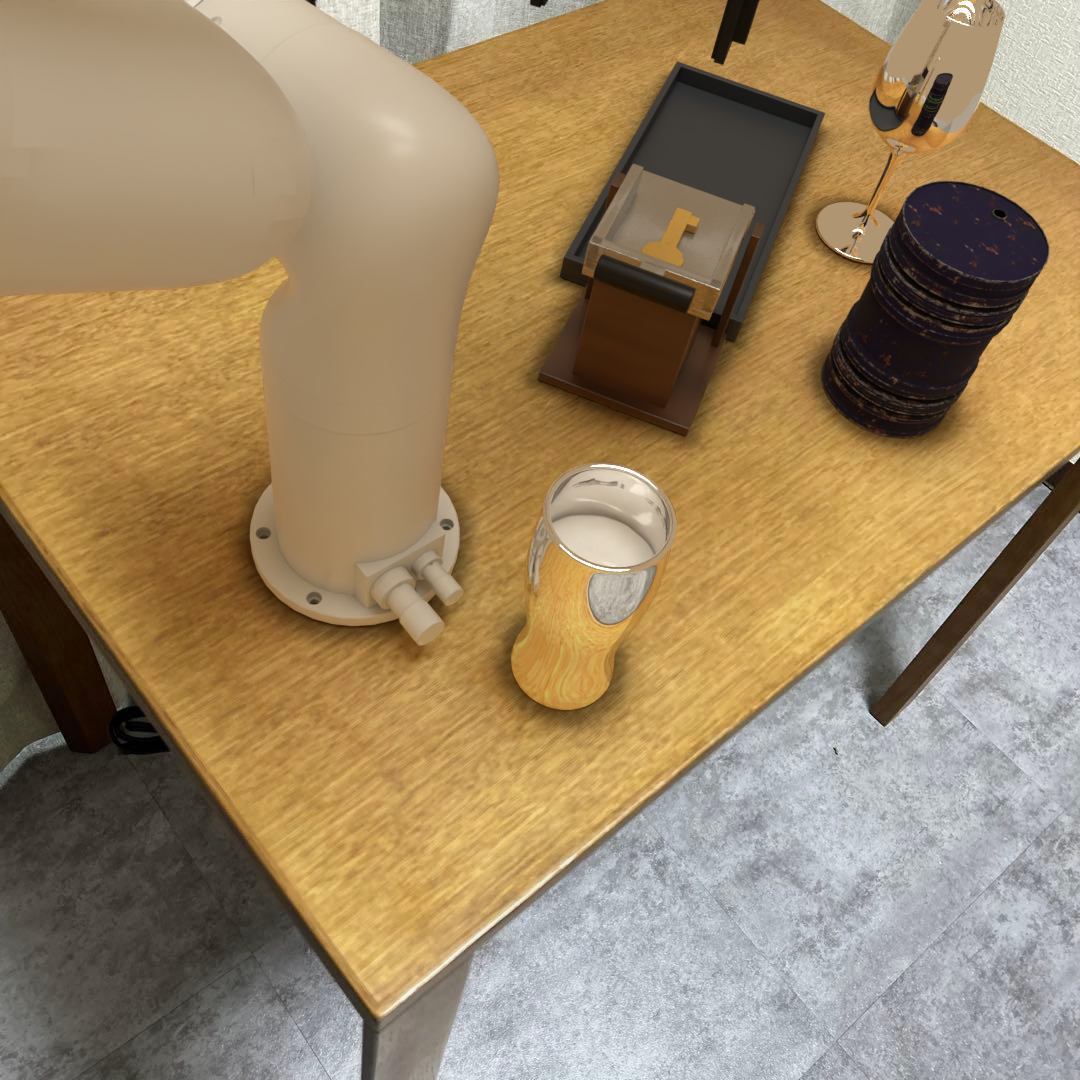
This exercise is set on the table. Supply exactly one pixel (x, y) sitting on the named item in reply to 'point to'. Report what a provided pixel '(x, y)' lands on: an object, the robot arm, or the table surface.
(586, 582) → the beer glass
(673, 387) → the stand
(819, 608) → the table surface
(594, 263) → the translucent box
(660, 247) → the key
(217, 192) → the robot arm
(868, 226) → the wineglass
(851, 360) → the dark purple cylinder
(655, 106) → the tray
